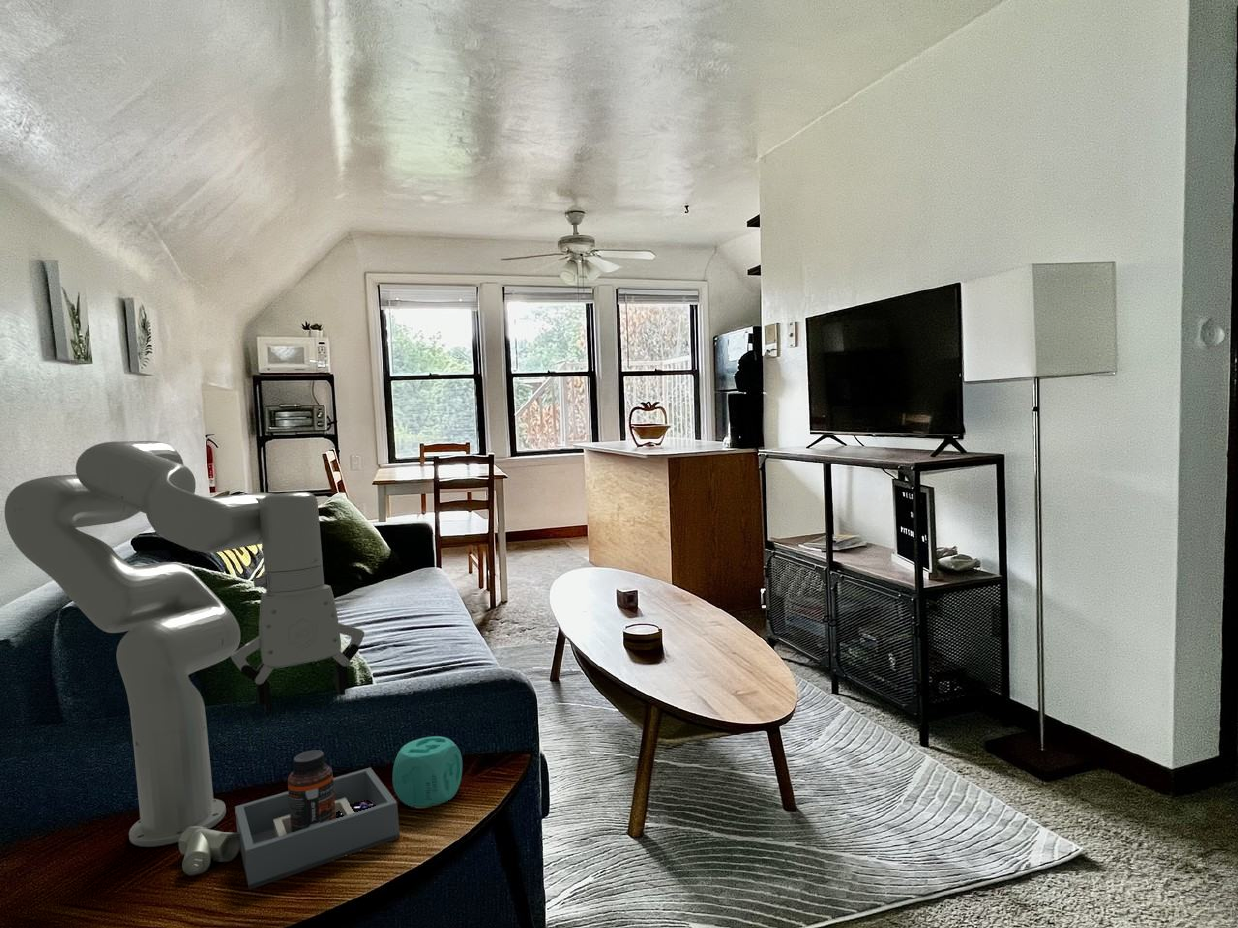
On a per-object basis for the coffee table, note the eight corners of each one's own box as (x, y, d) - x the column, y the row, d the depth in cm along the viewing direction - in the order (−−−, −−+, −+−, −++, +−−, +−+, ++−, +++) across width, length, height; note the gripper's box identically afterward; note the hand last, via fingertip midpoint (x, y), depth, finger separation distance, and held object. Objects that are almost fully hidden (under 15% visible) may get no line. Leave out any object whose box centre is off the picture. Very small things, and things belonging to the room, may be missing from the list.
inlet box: (238, 840, 106) (234, 806, 106) (373, 798, 116) (370, 767, 116) (249, 889, 93) (245, 850, 93) (400, 837, 103) (396, 802, 103)
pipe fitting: (199, 884, 96) (243, 853, 102) (194, 856, 96) (239, 826, 102) (158, 875, 99) (202, 845, 106) (153, 848, 99) (198, 819, 105)
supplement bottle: (327, 843, 102) (320, 762, 102) (284, 847, 102) (277, 766, 101) (343, 821, 108) (337, 745, 108) (302, 824, 108) (296, 748, 107)
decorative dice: (393, 808, 112) (389, 756, 112) (419, 783, 120) (415, 735, 120) (442, 810, 111) (437, 757, 110) (464, 785, 118) (460, 736, 118)
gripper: (228, 594, 96) (238, 724, 96) (364, 574, 105) (374, 692, 106) (223, 586, 102) (233, 709, 103) (352, 568, 111) (361, 680, 112)
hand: (304, 700), depth 104 cm, fingers open, 9 cm apart
